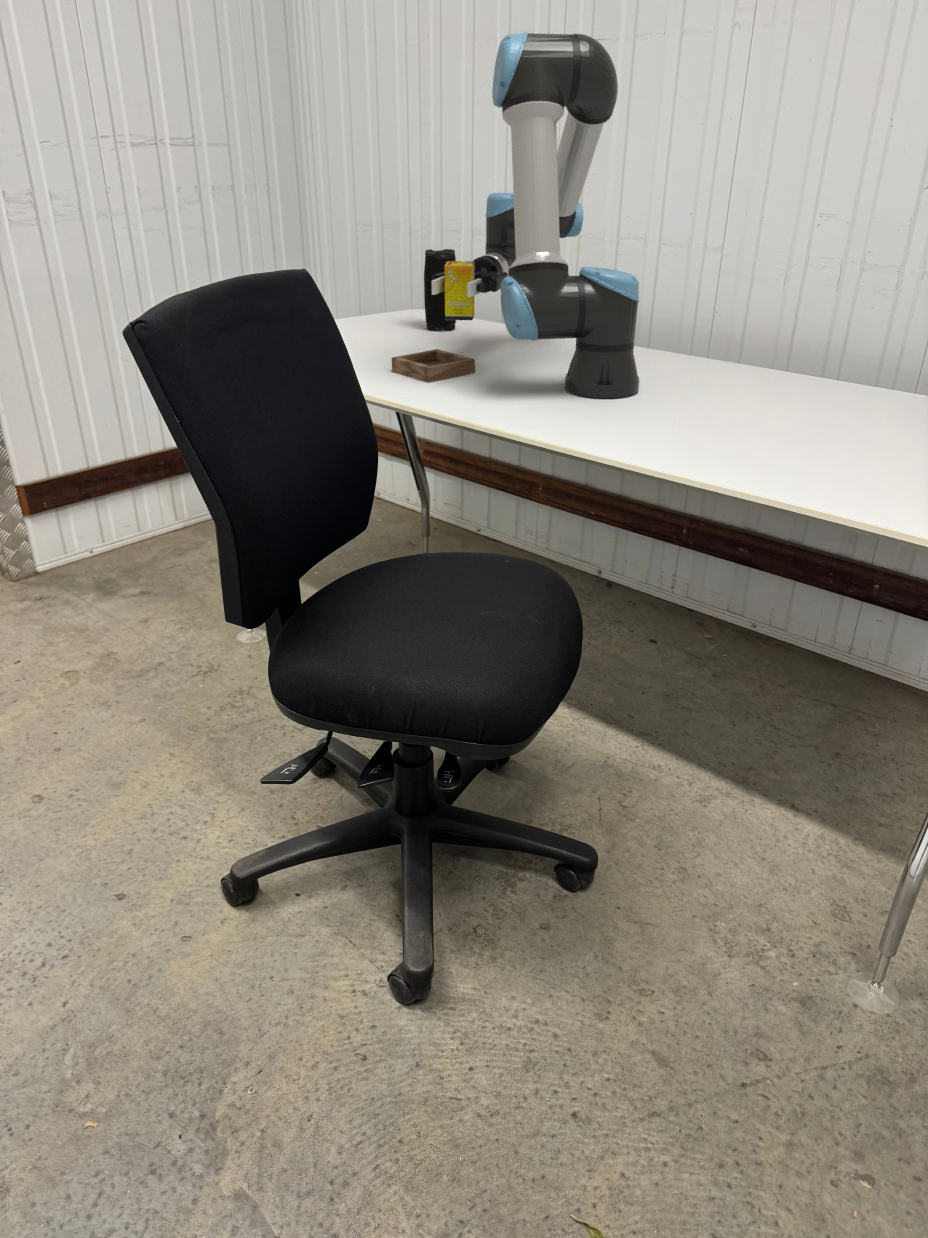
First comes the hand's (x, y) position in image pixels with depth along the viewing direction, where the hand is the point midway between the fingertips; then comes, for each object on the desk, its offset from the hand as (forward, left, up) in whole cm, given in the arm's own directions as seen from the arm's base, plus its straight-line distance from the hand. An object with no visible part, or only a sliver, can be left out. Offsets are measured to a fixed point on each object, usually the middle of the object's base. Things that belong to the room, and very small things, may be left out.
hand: (451, 288), depth 182 cm
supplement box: (+2, -4, -7) cm, 8 cm away
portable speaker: (+43, -33, -19) cm, 58 cm away
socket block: (+7, -1, -18) cm, 20 cm away
